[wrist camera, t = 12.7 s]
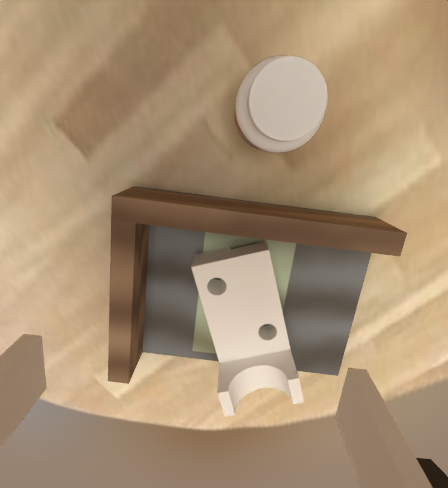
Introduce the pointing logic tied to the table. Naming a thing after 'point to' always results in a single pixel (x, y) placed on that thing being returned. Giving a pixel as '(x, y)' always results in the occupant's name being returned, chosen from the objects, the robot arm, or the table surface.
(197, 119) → the table surface
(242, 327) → the bracket
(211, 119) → the table surface
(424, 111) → the table surface
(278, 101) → the pill bottle
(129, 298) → the tray
